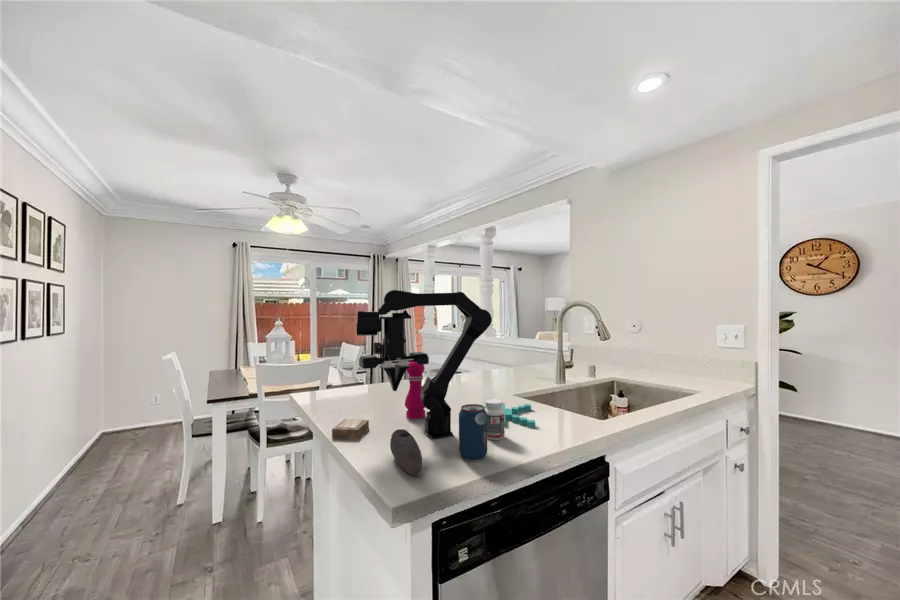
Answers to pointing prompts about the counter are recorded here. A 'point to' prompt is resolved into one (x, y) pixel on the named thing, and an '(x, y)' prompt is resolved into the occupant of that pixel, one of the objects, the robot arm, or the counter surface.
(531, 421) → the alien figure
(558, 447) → the counter surface
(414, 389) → the pepper mill
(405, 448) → the perforated stone tool
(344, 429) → the walnut block
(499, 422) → the pill bottle
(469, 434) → the soda can
